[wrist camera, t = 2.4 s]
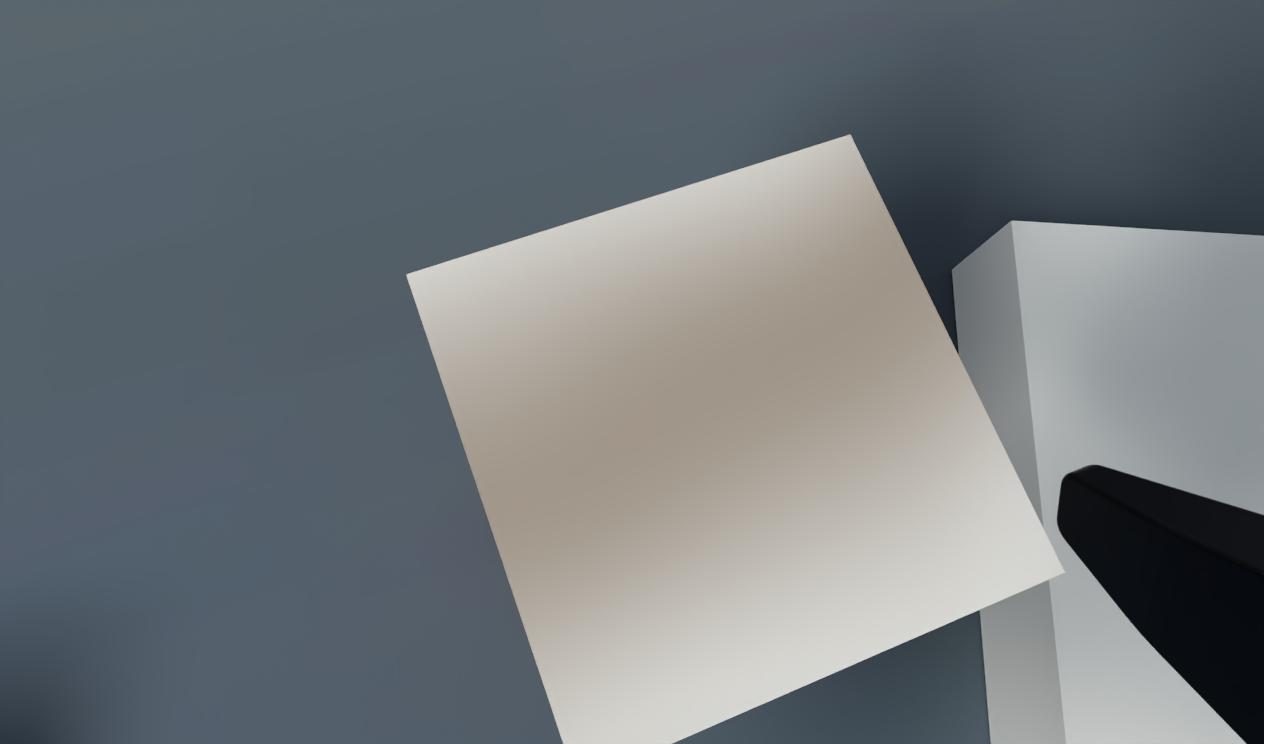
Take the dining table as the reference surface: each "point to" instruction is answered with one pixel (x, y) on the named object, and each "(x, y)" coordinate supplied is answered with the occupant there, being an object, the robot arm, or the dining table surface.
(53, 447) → the dining table surface
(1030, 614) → the dock
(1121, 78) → the dining table surface
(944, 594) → the beige tall block
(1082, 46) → the dining table surface
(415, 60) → the dining table surface
